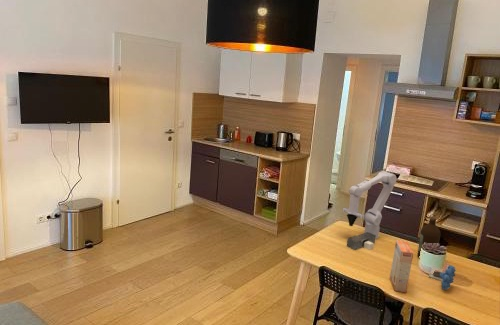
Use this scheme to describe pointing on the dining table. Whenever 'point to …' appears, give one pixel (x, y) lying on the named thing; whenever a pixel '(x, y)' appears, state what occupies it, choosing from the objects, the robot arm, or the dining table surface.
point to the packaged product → (437, 273)
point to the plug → (368, 245)
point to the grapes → (447, 277)
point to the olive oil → (429, 234)
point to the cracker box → (401, 266)
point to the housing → (360, 240)
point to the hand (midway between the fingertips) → (351, 225)
